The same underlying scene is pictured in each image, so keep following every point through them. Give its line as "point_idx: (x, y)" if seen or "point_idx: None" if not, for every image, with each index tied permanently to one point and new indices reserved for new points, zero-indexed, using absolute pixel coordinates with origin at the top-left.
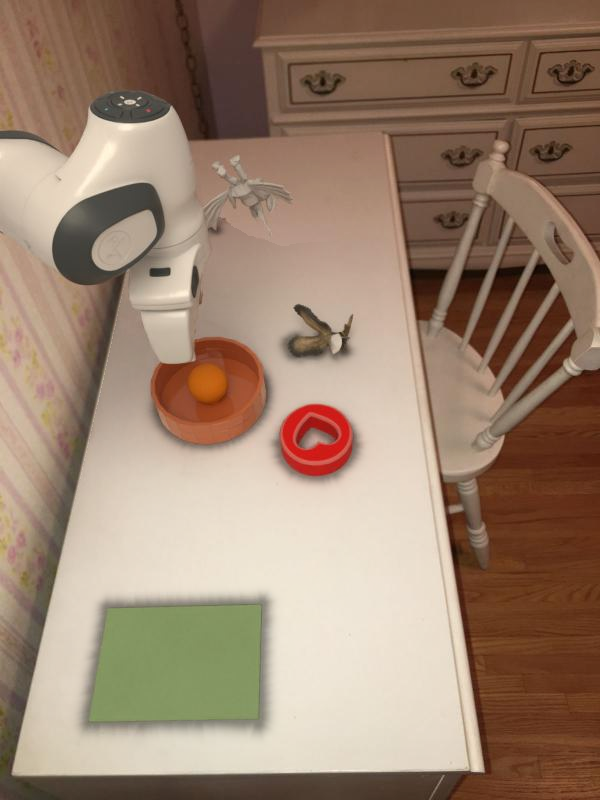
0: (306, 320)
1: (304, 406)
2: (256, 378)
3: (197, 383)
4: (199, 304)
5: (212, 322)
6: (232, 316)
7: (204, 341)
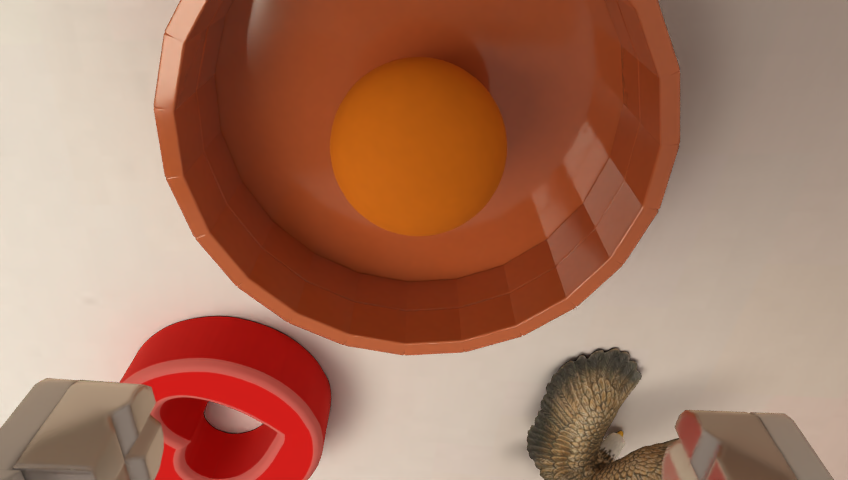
0: (641, 474)
1: (307, 425)
2: (481, 267)
3: (364, 141)
4: (662, 462)
5: (826, 106)
6: (822, 184)
7: (657, 140)
